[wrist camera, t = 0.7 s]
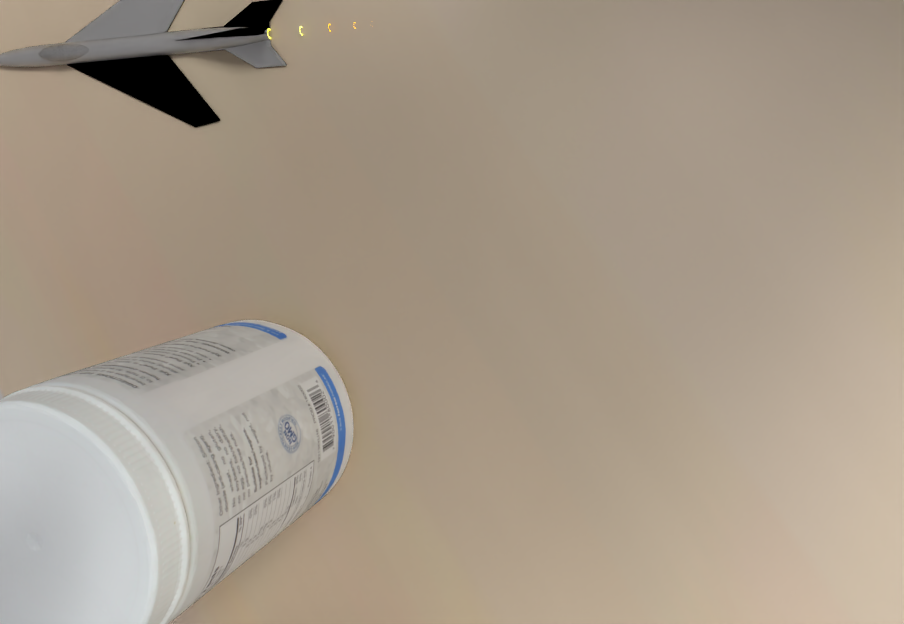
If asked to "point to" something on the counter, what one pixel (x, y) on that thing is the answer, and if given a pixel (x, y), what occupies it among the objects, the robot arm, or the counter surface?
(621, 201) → the counter surface
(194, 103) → the toy airplane
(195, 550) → the supplement tub
